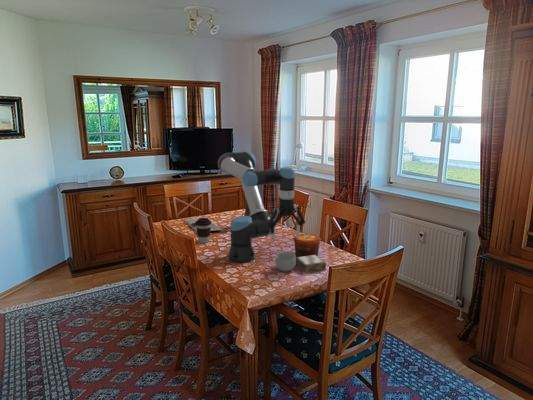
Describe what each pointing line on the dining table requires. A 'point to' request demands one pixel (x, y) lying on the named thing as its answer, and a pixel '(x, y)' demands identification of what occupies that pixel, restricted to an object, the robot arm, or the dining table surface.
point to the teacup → (285, 261)
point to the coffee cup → (203, 230)
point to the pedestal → (310, 263)
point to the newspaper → (194, 226)
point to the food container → (306, 245)
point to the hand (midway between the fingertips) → (286, 237)
